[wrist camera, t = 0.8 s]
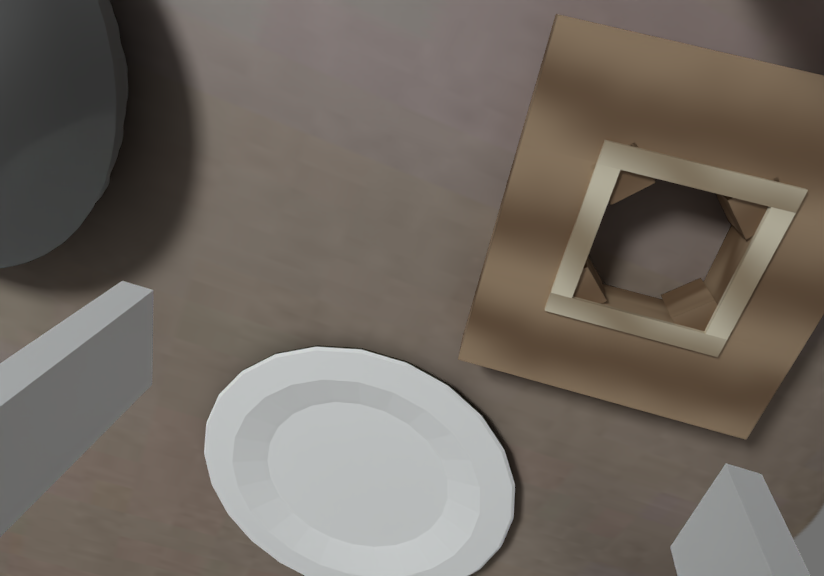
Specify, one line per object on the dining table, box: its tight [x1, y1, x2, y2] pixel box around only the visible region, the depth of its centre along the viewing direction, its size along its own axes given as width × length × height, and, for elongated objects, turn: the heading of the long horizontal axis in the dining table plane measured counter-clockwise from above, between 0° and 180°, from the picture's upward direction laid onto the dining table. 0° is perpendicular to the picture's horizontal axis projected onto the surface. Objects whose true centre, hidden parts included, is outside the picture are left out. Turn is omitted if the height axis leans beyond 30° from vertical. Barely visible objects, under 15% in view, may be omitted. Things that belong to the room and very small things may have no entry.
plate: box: [204, 346, 515, 576], centre depth 46 cm, size 25×25×2 cm
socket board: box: [458, 14, 824, 440], centre depth 32 cm, size 20×18×3 cm
